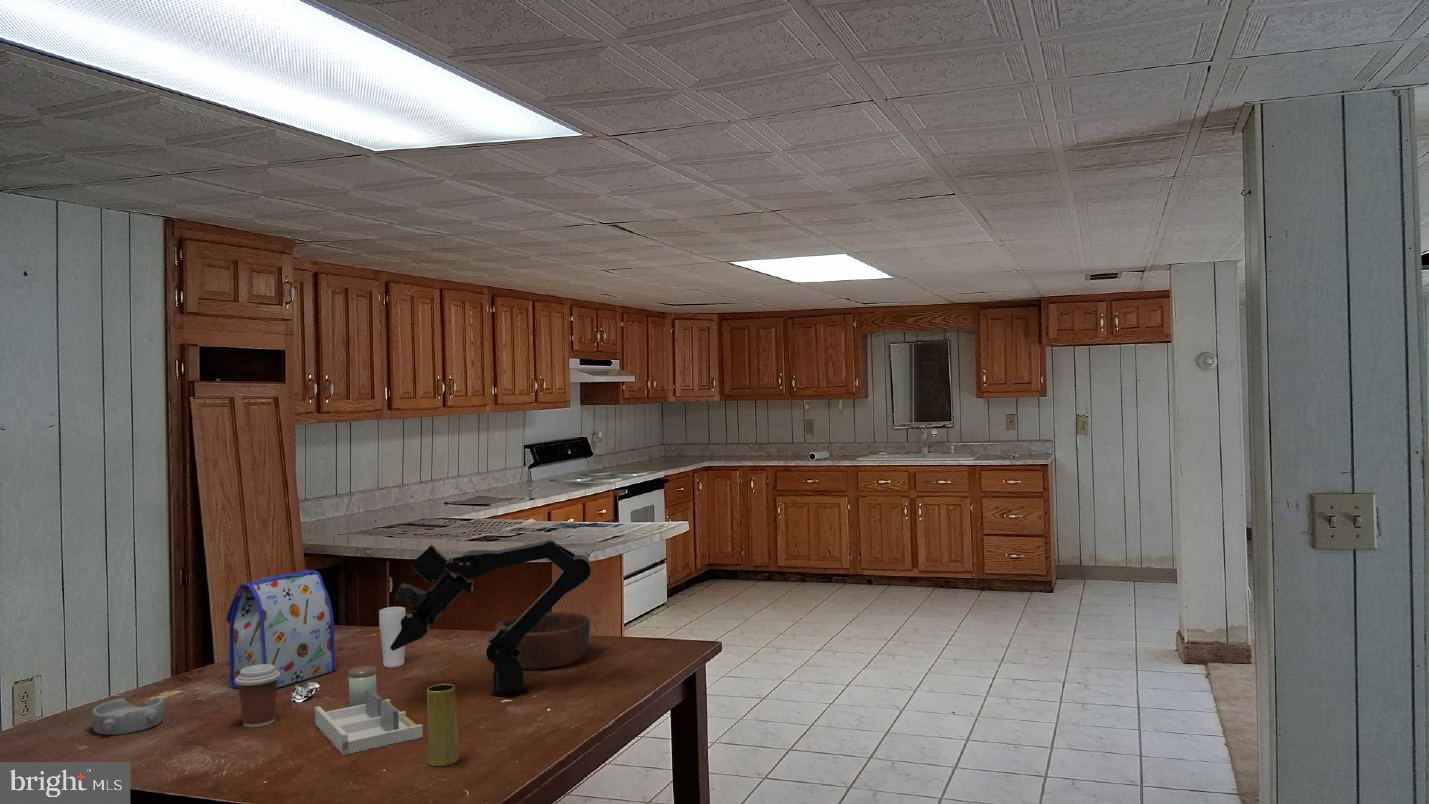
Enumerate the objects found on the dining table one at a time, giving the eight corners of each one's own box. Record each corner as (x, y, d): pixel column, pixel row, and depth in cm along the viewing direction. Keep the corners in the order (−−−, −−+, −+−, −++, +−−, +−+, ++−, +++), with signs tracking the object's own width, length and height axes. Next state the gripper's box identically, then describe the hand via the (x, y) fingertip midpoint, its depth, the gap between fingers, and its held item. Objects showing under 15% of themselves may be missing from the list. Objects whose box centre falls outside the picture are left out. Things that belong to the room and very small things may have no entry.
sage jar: (382, 701, 228) (381, 667, 228) (362, 708, 222) (361, 674, 222) (363, 698, 230) (362, 664, 230) (343, 705, 225) (342, 671, 225)
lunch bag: (297, 664, 263) (294, 565, 263) (341, 670, 255) (338, 569, 255) (221, 688, 242) (217, 581, 242) (266, 695, 235) (263, 585, 235)
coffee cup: (291, 717, 218) (289, 664, 217) (259, 731, 209) (257, 675, 209) (258, 714, 220) (257, 661, 220) (226, 727, 212) (224, 672, 212)
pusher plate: (370, 712, 217) (370, 688, 217) (383, 723, 209) (382, 698, 209) (366, 713, 216) (365, 689, 216) (378, 724, 209) (377, 699, 209)
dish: (97, 722, 219) (97, 700, 219) (168, 712, 224) (167, 691, 224) (85, 742, 205) (84, 719, 205) (159, 732, 211) (159, 709, 211)
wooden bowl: (545, 644, 277) (543, 608, 277) (610, 655, 262) (609, 617, 262) (476, 665, 257) (475, 626, 257) (543, 679, 242) (541, 638, 242)
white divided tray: (389, 710, 221) (388, 683, 221) (422, 737, 202) (421, 708, 202) (315, 725, 211) (314, 697, 211) (343, 755, 193) (342, 724, 193)
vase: (430, 756, 191) (428, 683, 191) (462, 754, 191) (459, 682, 191) (423, 768, 185) (421, 693, 185) (456, 766, 185) (454, 691, 185)
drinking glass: (399, 669, 254) (397, 612, 254) (375, 668, 256) (373, 612, 256) (412, 662, 261) (410, 606, 261) (389, 661, 262) (387, 606, 262)
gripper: (422, 565, 237) (377, 612, 236) (409, 578, 219) (360, 630, 217) (456, 595, 238) (411, 643, 237) (446, 611, 220) (397, 663, 218)
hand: (395, 644), depth 227 cm, fingers open, 9 cm apart
